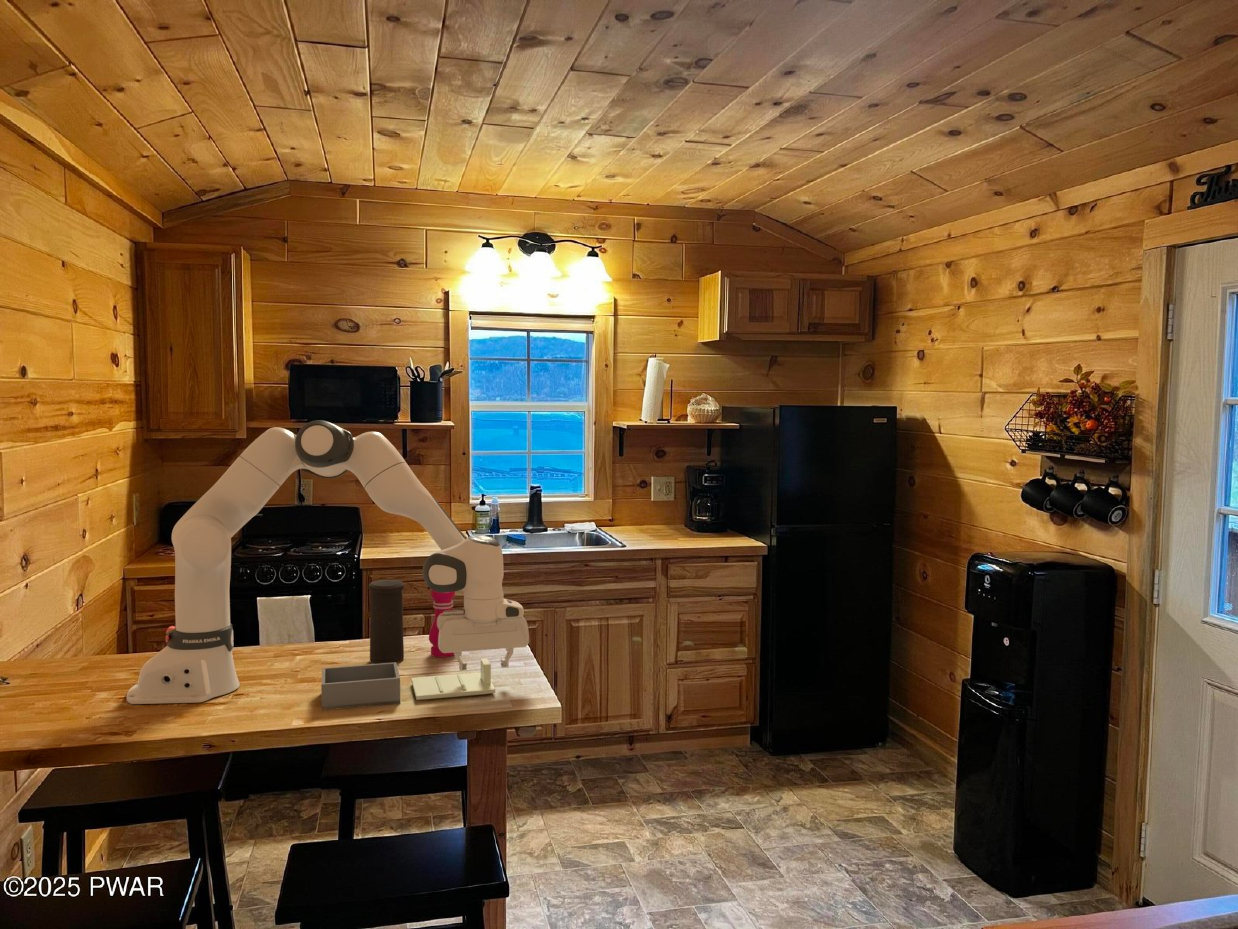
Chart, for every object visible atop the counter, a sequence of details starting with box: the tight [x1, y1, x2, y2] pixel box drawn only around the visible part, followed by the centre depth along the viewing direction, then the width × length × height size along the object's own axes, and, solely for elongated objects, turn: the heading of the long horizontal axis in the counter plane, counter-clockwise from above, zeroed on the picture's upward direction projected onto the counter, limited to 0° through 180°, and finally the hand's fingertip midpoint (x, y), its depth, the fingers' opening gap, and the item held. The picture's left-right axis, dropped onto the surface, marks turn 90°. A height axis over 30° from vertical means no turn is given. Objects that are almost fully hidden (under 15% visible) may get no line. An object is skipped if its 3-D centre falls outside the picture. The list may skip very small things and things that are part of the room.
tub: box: [320, 662, 401, 711], centre depth 201 cm, size 16×12×6 cm
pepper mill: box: [428, 589, 456, 658], centre depth 234 cm, size 7×7×20 cm
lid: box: [411, 658, 496, 701], centre depth 207 cm, size 17×13×6 cm
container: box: [367, 579, 405, 664], centre depth 228 cm, size 9×9×20 cm
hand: (483, 668), depth 209 cm, fingers open, 8 cm apart
